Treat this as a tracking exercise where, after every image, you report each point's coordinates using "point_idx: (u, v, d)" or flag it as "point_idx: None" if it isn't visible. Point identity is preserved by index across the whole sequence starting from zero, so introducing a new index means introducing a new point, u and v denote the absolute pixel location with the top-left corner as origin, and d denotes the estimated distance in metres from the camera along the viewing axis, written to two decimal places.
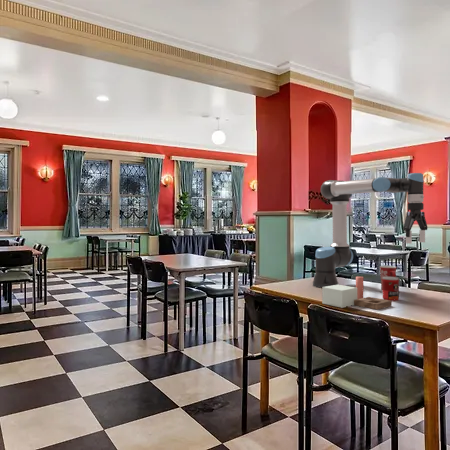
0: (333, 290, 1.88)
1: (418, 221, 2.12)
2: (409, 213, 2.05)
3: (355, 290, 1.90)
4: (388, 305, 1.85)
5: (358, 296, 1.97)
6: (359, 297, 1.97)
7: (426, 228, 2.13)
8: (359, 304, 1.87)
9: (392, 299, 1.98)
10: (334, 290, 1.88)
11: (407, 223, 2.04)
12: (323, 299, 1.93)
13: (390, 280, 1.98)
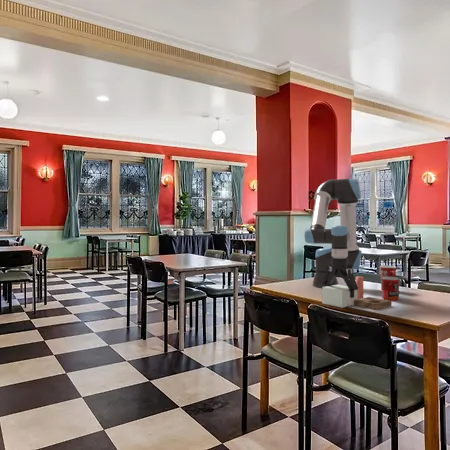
0: (333, 290, 1.88)
1: None
2: None
3: (355, 290, 1.90)
4: (388, 305, 1.85)
5: (358, 296, 1.97)
6: (359, 297, 1.97)
7: (350, 289, 1.85)
8: (359, 304, 1.87)
9: (392, 299, 1.98)
10: (334, 290, 1.88)
11: None
12: (323, 299, 1.93)
13: (390, 280, 1.98)
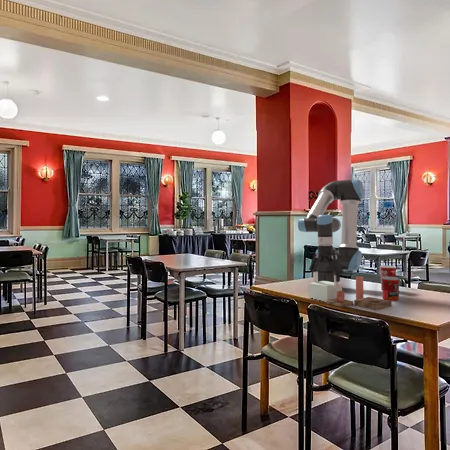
0: (319, 286, 2.00)
1: None
2: None
3: (340, 286, 2.02)
4: (388, 305, 1.85)
5: (358, 296, 1.97)
6: (359, 297, 1.97)
7: (336, 273, 1.97)
8: (359, 304, 1.87)
9: (392, 299, 1.98)
10: (320, 286, 2.00)
11: None
12: (309, 294, 2.05)
13: (390, 280, 1.98)
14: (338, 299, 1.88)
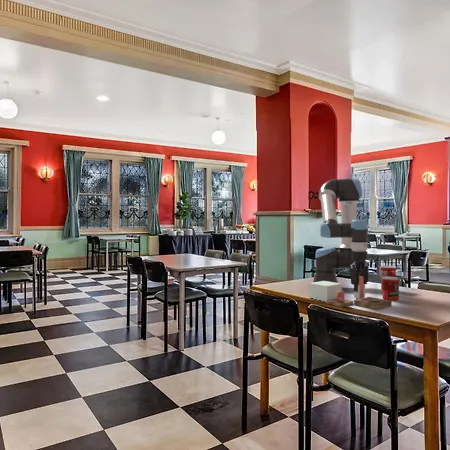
0: (319, 286, 2.00)
1: (360, 271, 1.99)
2: (352, 267, 1.94)
3: (340, 286, 2.02)
4: (388, 305, 1.85)
5: None
6: None
7: None
8: (359, 304, 1.87)
9: (392, 299, 1.98)
10: (320, 286, 2.00)
11: (353, 278, 1.95)
12: (309, 294, 2.05)
13: (390, 280, 1.98)
14: (338, 299, 1.88)
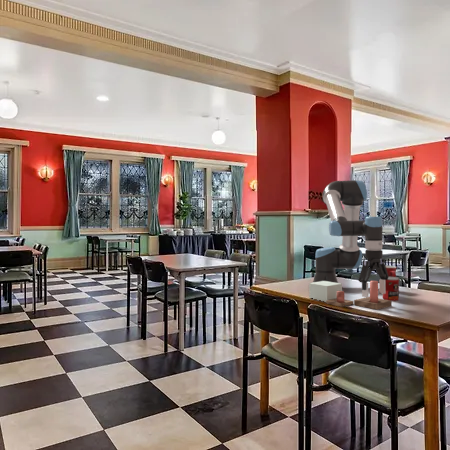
0: (319, 286, 2.00)
1: (377, 270, 1.87)
2: (365, 263, 1.80)
3: (340, 286, 2.02)
4: (388, 305, 1.85)
5: (372, 302, 1.84)
6: None
7: (387, 277, 1.88)
8: (359, 304, 1.87)
9: (392, 299, 1.98)
10: (320, 286, 2.00)
11: (363, 274, 1.79)
12: (309, 294, 2.05)
13: (390, 280, 1.98)
14: (338, 299, 1.88)
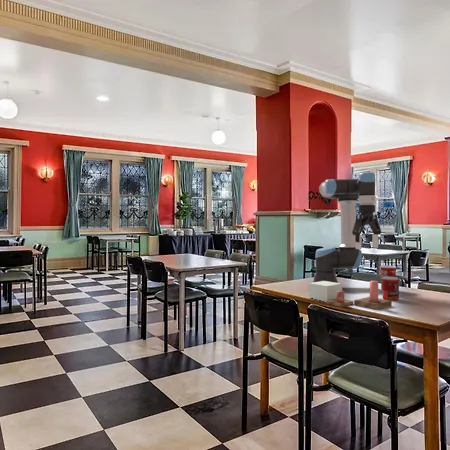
0: (319, 286, 2.00)
1: (370, 225, 1.95)
2: (359, 216, 1.89)
3: (340, 286, 2.02)
4: (388, 305, 1.85)
5: (372, 302, 1.84)
6: None
7: (379, 232, 1.97)
8: (359, 304, 1.87)
9: (392, 299, 1.98)
10: (320, 286, 2.00)
11: (356, 227, 1.87)
12: (309, 294, 2.05)
13: (390, 280, 1.98)
14: (338, 299, 1.88)
